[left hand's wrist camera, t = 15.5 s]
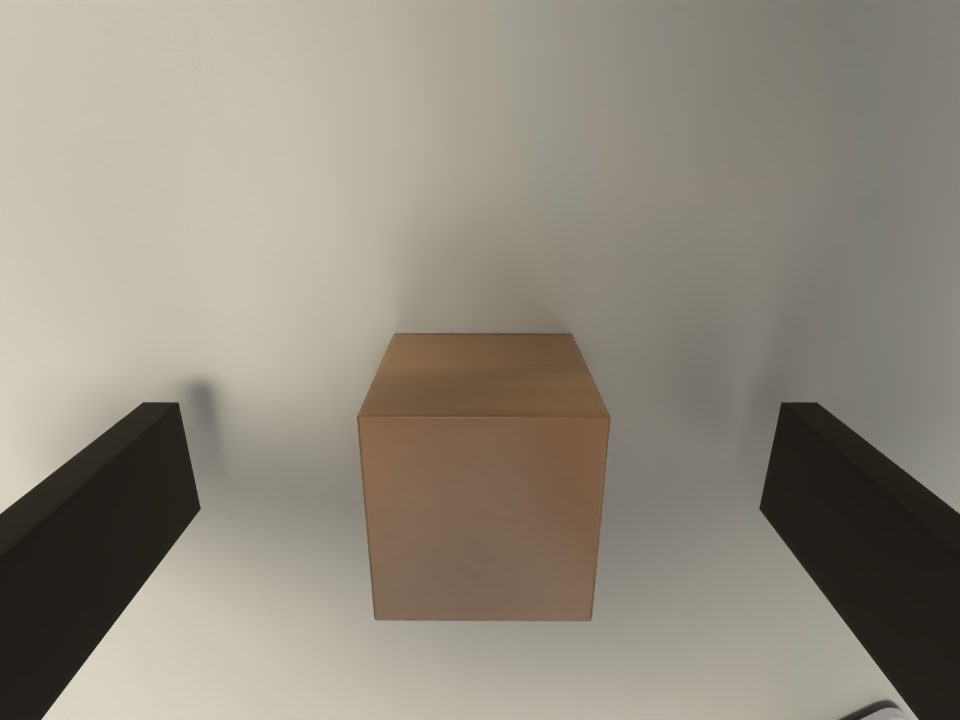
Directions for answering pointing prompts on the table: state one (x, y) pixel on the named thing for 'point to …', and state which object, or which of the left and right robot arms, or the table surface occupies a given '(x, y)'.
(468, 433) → the block
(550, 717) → the table surface
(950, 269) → the table surface
